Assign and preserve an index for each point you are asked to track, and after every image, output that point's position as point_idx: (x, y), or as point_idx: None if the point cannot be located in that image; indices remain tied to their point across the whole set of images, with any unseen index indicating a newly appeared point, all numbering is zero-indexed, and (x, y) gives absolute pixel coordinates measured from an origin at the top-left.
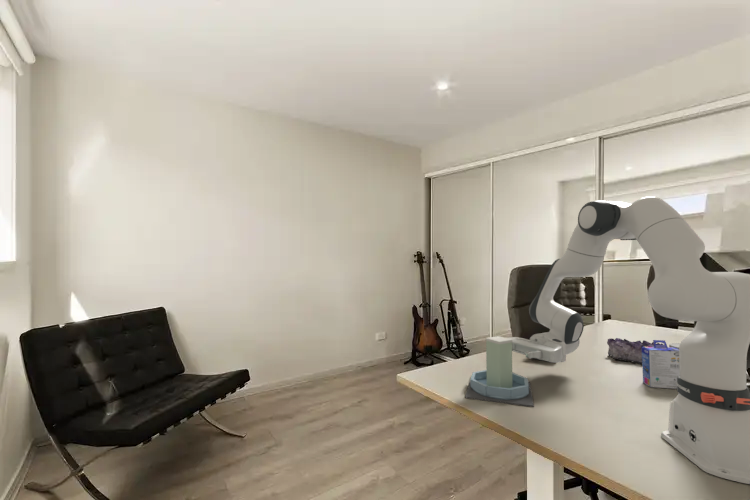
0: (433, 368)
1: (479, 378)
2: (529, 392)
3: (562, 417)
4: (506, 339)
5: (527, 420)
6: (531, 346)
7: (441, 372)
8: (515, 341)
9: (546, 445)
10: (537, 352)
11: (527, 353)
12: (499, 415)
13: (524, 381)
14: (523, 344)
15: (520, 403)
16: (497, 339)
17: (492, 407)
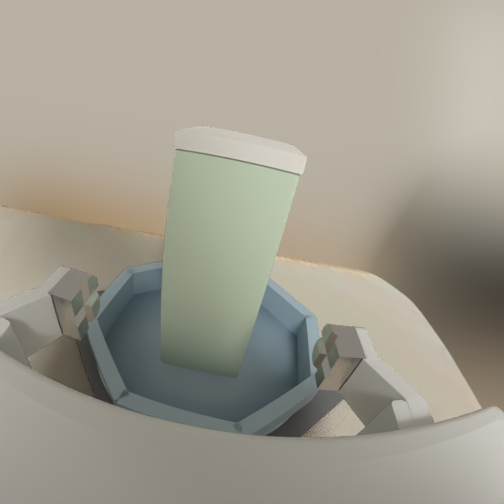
0: (434, 343)
1: (298, 347)
2: (99, 384)
3: (9, 286)
4: (206, 131)
5: (73, 250)
6: (55, 384)
7: (406, 340)
8: (400, 449)
9: (47, 217)
10: (4, 302)
11: (80, 272)
12: (125, 244)
13: (111, 357)
14: (213, 432)
15: (99, 294)
16: (239, 134)
17: (152, 260)
